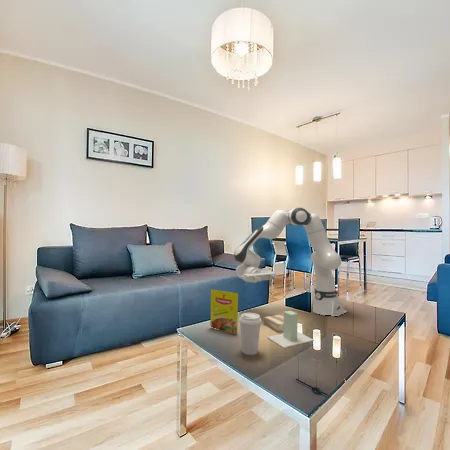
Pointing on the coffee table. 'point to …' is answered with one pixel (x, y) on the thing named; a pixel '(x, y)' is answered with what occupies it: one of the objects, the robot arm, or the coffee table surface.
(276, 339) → the rubber mat
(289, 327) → the sage green pillar
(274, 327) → the plate
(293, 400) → the coffee table surface
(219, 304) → the food package
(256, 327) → the coffee cup
